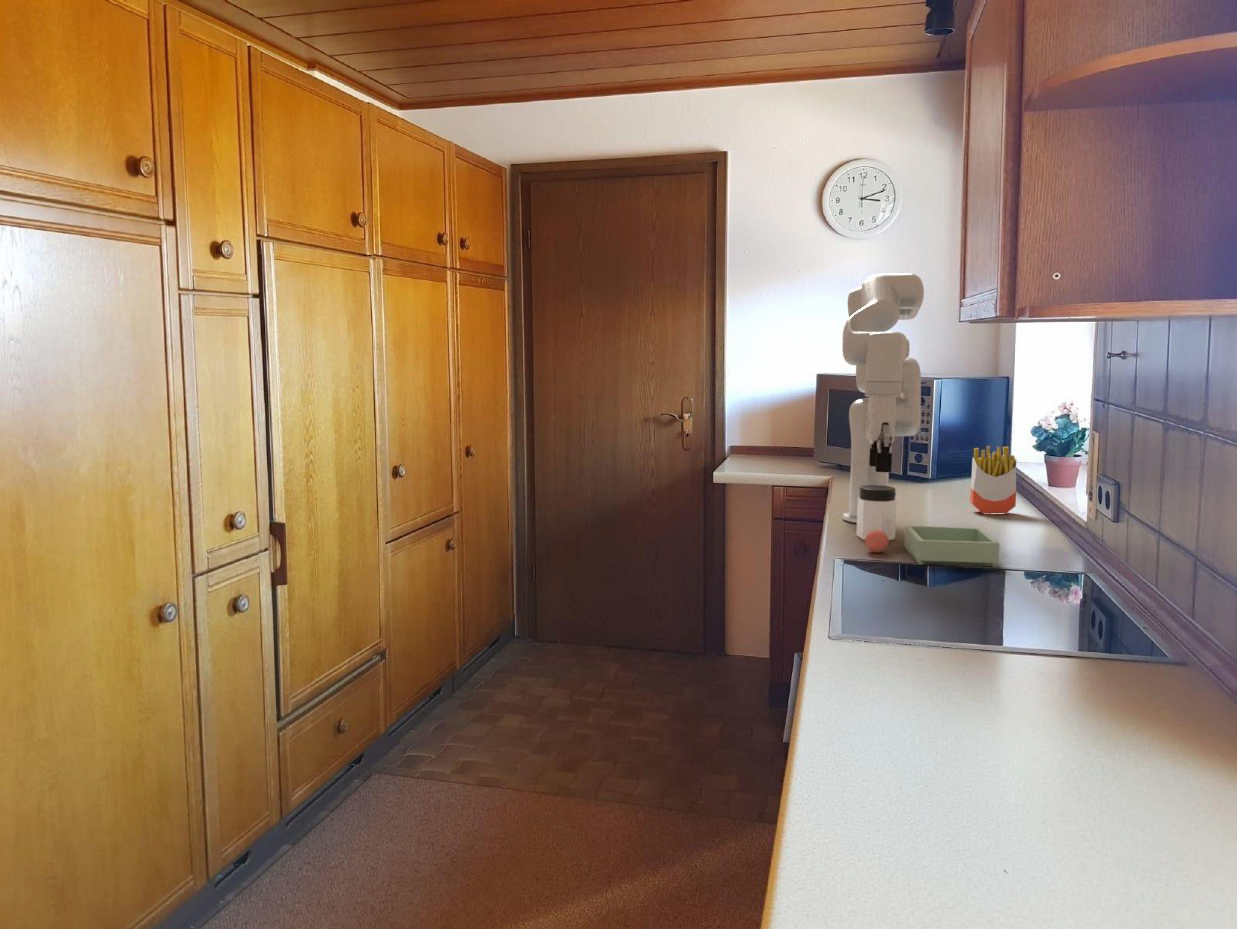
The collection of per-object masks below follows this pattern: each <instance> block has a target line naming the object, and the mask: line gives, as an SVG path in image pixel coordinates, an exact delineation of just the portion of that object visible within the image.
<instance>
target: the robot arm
mask: <svg viewBox="0 0 1237 929" xmlns="http://www.w3.org/2000/svg"><path fill="white" fill-rule="evenodd" d="M924 289H925V288H924V284H923V281H922V279H921V277H920V276H919V275H917V274H915V273H877V274H873V275H870V276H868V277H867V278H866V279H865V280H864V281H863V282H862V284H861V286H860V287H856V288H853V289H852V290H851V291H850V292H849V294H848V297H847V313H848V319H847V321H846V322H845V325H844V327H843V331H842V346H841V347H842V356H843V359H844V361H845V362H846V363H847V364H849V365H850V366H855V381H856V383H855V384H856V387H857V389H858V391H859V392H861V393H864V397H866V398H860V399H857V400H854V401H853V402H852V404H850V406H849V411H848V419H849V420H848V421H849V429H850V440H851V441H850V442H851V443H850V444H851V445H850V447H851V448H850V450H851V451H850V474H849V476H850V477H849V478H850V480H849V481H850V482H849V505H848V506H849V507H848V512H844V513H843V514H842V520H844V521H846V522H850V523H854V524H855V523H856V524H857V507H858V497H859V495H860V487H861V486H865V485H881V486H889V474H890V473H891V472H892V466H893V465H892V464H893V463H892V462H893V453H892V450H893V448H892V443H893V442H895V437H911V436H915V435H916V434H917V433H918V432H919V430H920V427H921V417H922V416H921V413H922V412H921V410H922V409H921V408H922V407H921V405H922V402H921V401H922V395H921V394H922V393H921V392H922V380H921V379H922V377H921V376H922V375H921V374H922V373H921V366H920V364H919V362H918V360H916V359H915V358H913V357H909V355H910V348H911V347H910V340H909V339H908V338H907V336H906V335H905V334H904V333H902V332H898V331H889V330H891V329H892V328H893V327H895V326H896V325H897V323H898V321H900V320H901V321H902V320H903V321H904V320H906V321H907V320H912V319H915V318H916V316H918V313H919V310H920V309H921V307H922V305H923V301H924V297H925V290H924Z"/></svg>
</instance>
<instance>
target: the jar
mask: <svg viewBox="0 0 1237 929" xmlns="http://www.w3.org/2000/svg"><path fill="white" fill-rule="evenodd" d="M896 493H897V492H896V488H895V487H893V486H890V485H888V486H881V485H865V486H861V487H860V495H859V497H858V507H857V523H856V533H855V534H856V537H857V538H858V537H859V538H860V540H863V541H865V538H866V536H867V534H868V533H869V532H871V531H873V530H880V531H883V532H884V533H885V534H886V535H887V537H888V540H889V541H894V540H895V539H896V523H897V505H898V504H897V502H898V501H897V499H896V496H897V495H896Z"/></svg>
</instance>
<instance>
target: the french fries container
mask: <svg viewBox="0 0 1237 929" xmlns="http://www.w3.org/2000/svg"><path fill="white" fill-rule="evenodd" d="M996 448H997V449H996V451H993V452H992V454H991V452H990V451H991V446H989V445H987V446H986V448H985V449H986V450H982V449H981V454H980V450H979V449H980V448H979V447H974V448H973V457H972V459H971V460H972V461H971V478H970V481H971V482H970V497H969V498H970V499H969V500H970V504H971V505H973V507H975V509H976V510H978V512H980V513H981V514H982V513H1006V514H1008V513H1009V512H1010V511H1011V510H1013V509H1014V508H1015V507H1016V506H1017V505H1016V504H1017V503H1016V502H1017V459H1016V458H1015V457H1016V456H1015V455H1011V454H1010V452H1009V451H1010V446H1002V447H1001V446H997V447H996ZM1001 449H1002V450H1001ZM979 455H980V456H979Z"/></svg>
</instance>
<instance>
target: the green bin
mask: <svg viewBox="0 0 1237 929" xmlns="http://www.w3.org/2000/svg"><path fill="white" fill-rule="evenodd" d="M904 549H905V551H907V553H908V554H909V555H910V557H911V558H912V557H913V558H912V559H913V560H914V561H915V563H916V562H917V563H918V564H917V563H916V564H917V565H925V564H935V565H934V566H954V565H960V567H982V566H992V567H991V568H998V567H999V555H1000V554H999V553H1000V542H998V541H997V540H996V539H995V538H993V537H992V536H991V535H990V534H989V533H987V532H986V531H984V530H983V529H982V528H981V527H961V526H960V527H959V526H956V527H955V526H931V525H930V526H929V525H928V526H926V525H925V526H924V525H923V526H922V525H905V530H904Z"/></svg>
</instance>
